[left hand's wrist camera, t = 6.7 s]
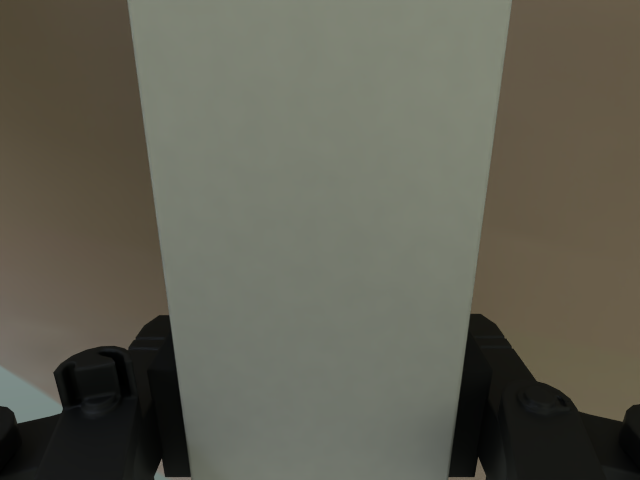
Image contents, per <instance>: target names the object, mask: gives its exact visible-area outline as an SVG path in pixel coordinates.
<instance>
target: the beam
mask: <svg viewBox="0 0 640 480" xmlns="http://www.w3.org/2000/svg"><path fill="white" fill-rule="evenodd" d="M127 2H128V10H129V17H130V25H131V32H132V40H133V47H134V55H135V62H136V69H137V77H138V84H139V92H140V99H141V107H142V114H143V122H144V129H145V137H146V144H147V151H148V159H149V166H150V174H151V181H152V189H153V196H154V204H155V211H156V219H157V226H158V234H159V241H160V248H161V256H162V263H163V271H164V278H165V286H166V293H167V301H168V308H169V316H170V323H171V330H172V338H173V345H174V353H175V360H176V368H177V375H178V383H179V390H180V398H181V405H182V412H183V420H184V427H185V435H186V442H187V450H188V457H189V465H190V472H191V480H448V476H449V468H450V461H451V453H452V446H453V439H454V431H455V424H456V416H457V409H458V401H459V394H460V386H461V379H462V371H463V364H464V356H465V349H466V341H467V334H468V326H469V319H470V311H471V304H472V296H473V289H474V281H475V274H476V267H477V259H478V252H479V244H480V237H481V229H482V222H483V214H484V207H485V199H486V192H487V184H488V177H489V169H490V162H491V154H492V147H493V139H494V132H495V124H496V117H497V110H498V102H499V95H500V87H501V80H502V72H503V65H504V57H505V50H506V42H507V35H508V27H509V20H510V12H511V5H512V0H127Z"/></svg>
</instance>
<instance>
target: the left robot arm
mask: <svg viewBox="0 0 640 480" xmlns="http://www.w3.org/2000/svg"><path fill="white" fill-rule="evenodd" d="M53 373H54V377H55V380H56V384H57V388H58V392H59V395H60V399H61V403H62V407H63V411H62V413H60V414H57V415H54V416H50V417H45V418H41V419H37V420H32V421H27V422H23V423H18V424H17V421H16V418H15V415H14V412H12V411H11V410H10V409H9V408H8V407H2V406H0V480H154V475H155V473H156V471H157V468H158V466H159V463H160V461H161V459H162V462H163V467H164V473H165V477H191V472H190V465H189V457H188V450H187V442H186V435H185V427H184V420H183V412H182V405H181V398H180V390H179V383H178V375H177V368H176V360H175V353H174V345H173V338H172V330H171V323H170V316H169V315H159V316H158V317H156V318H155V319H153V320H152V321H150V322H149V323H147V324H146V325H144V327H143V328H142V329H141V331H140V332H139V334H138V335H137V336H136V340H134V341H133V342H132V343H131V345H130V346H129V349H128V350H126V349H125V348H121V347H116V346H101V347H96V348H92V349H88V350H85V351H82V352H80V353H78V354H75V355H73V356H71V357H70V358H68V359H67V360H65V361H64V362H62V363H61V364H60V365H59V366H58V368H57V369H56V370H55V371H54V372H53ZM478 457H479V460H480V462H481V464H482V467H483V469H484V471H485V474H486V480H640V404H639V405H633V406H632V407H630V408H629V409H628V410H627V411H626V414H625V417H624V420H623V422H621V421H616V420H612V419H607V418H603V417H598V416H594V415H589V414H586V413H582V412H579V411H578V410H577V408H576V406H575V405H574V403H573V402H572V401H571V399H570V398H569V397H567V396H566V395H565V394H563V393H562V392H561V391H560V390H558V389H556V388H554V387H551V386H549V385H547V384H545V383H541V382H537V381H536V380H535V378H534V377H533V375H532V374H531V373H530V371H529V370H528V368H527V367H526V366H525V364H524V363H523V361H522V360H521V359H520V357H519V356H518V355H517V353H516V352H515V350H514V349H512V348H511V345H510V343H509V342H508V341H507V339H505V338H504V335H503V334H502V332H501V331H500V330H499V328H498V327H497V325H496V324H495V323H493V322H492V321H490V320H489V319H487V318H486V317H484V316H483V315H481V314H470V319H469V326H468V334H467V341H466V349H465V356H464V364H463V371H462V379H461V386H460V394H459V401H458V409H457V416H456V424H455V431H454V439H453V446H452V453H451V461H450V468H449V476H448V477H475V471H476V466H477V460H478Z"/></svg>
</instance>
